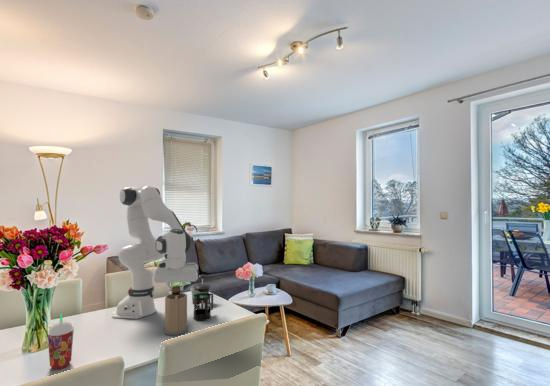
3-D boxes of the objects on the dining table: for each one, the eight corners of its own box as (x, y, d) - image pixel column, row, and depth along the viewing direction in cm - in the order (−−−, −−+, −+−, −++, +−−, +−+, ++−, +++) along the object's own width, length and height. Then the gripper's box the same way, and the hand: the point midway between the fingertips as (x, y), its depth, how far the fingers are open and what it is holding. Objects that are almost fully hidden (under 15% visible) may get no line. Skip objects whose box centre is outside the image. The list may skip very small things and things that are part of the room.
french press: (197, 322, 159) (197, 278, 160) (188, 317, 166) (189, 275, 167) (216, 316, 167) (217, 274, 168) (208, 312, 174) (208, 271, 175)
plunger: (166, 323, 146) (166, 288, 146) (170, 316, 153) (170, 284, 153) (182, 322, 147) (182, 288, 147) (185, 316, 154) (185, 283, 154)
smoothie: (75, 358, 124) (75, 308, 125) (71, 368, 117) (71, 315, 117) (50, 362, 121) (51, 311, 121) (44, 373, 113) (45, 319, 114)
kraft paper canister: (161, 336, 144) (161, 300, 144) (168, 324, 157) (168, 291, 157) (185, 335, 145) (185, 299, 145) (190, 323, 158) (190, 290, 158)
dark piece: (187, 305, 185) (187, 288, 186) (190, 302, 192) (190, 285, 192) (207, 305, 185) (207, 289, 185) (210, 302, 191) (210, 286, 191)
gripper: (199, 260, 155) (198, 288, 154) (156, 261, 152) (156, 289, 152) (197, 263, 148) (197, 292, 148) (153, 264, 146) (153, 293, 146)
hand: (176, 291), depth 150 cm, fingers closed on plunger, 4 cm apart
